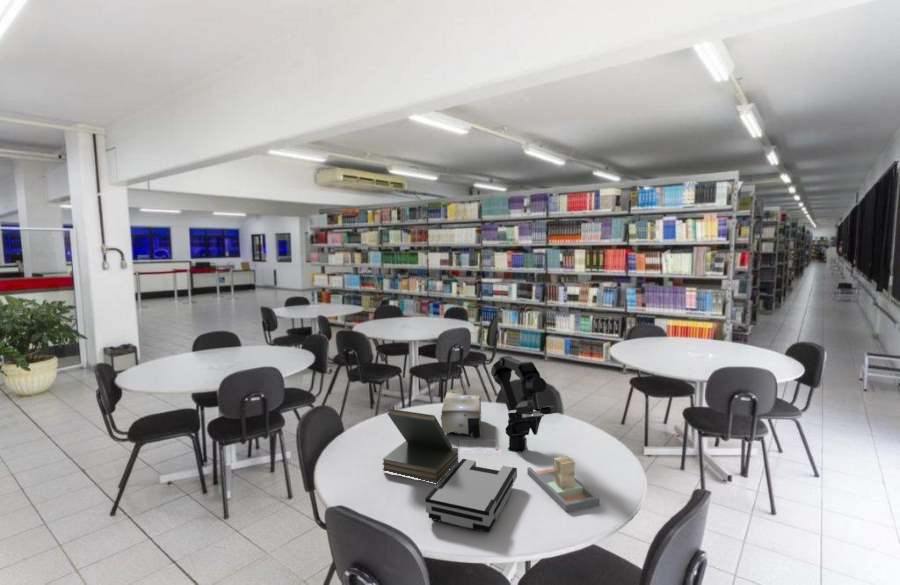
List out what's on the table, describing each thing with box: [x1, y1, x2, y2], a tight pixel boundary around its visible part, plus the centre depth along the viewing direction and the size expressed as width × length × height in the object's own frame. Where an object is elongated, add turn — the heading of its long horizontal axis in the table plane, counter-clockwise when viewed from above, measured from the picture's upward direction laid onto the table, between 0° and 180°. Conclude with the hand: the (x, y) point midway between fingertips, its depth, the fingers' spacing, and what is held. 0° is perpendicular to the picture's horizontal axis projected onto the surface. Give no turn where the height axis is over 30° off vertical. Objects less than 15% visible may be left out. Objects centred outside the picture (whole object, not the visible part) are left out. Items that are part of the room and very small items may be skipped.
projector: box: [440, 387, 482, 439], centre depth 225 cm, size 18×33×13 cm, turn 175°
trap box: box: [526, 466, 600, 513], centre depth 164 cm, size 27×12×2 cm, turn 17°
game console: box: [424, 458, 518, 533], centre depth 155 cm, size 21×32×8 cm, turn 157°
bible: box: [382, 408, 459, 483], centre depth 180 cm, size 23×20×25 cm
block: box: [553, 455, 576, 490], centre depth 161 cm, size 5×5×9 cm
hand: (535, 434), depth 180 cm, fingers closed
